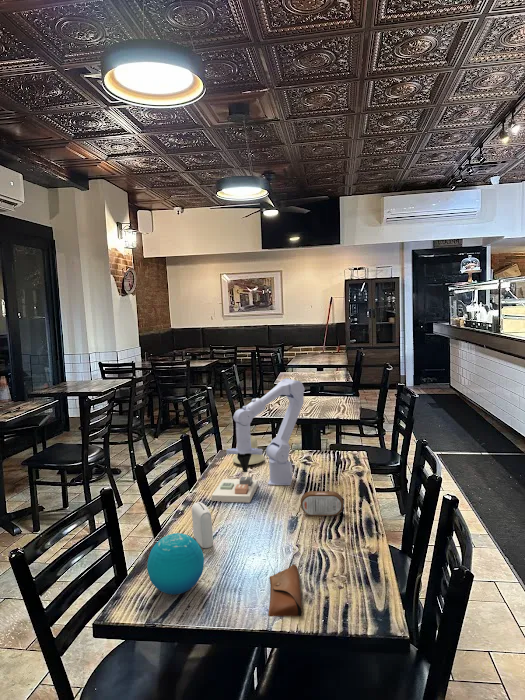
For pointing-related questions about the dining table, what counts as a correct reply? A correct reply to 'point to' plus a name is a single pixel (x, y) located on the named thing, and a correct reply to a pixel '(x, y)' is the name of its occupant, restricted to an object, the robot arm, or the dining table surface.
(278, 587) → the sunglasses case
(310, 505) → the tin
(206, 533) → the photo printer
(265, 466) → the dining table surface
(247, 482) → the key one
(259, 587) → the dining table surface
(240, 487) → the key two
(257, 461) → the handbell
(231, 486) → the key three
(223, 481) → the key panel
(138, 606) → the dining table surface
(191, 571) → the decorative orb
